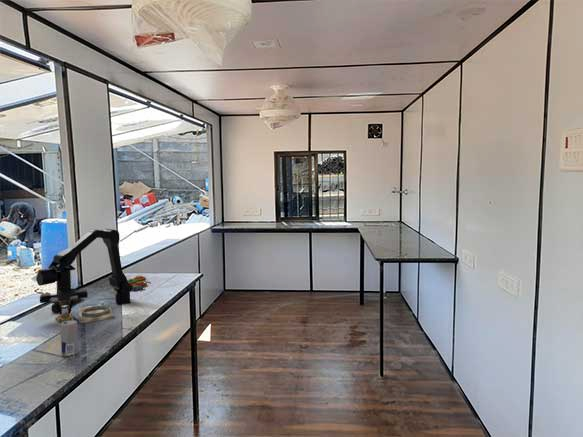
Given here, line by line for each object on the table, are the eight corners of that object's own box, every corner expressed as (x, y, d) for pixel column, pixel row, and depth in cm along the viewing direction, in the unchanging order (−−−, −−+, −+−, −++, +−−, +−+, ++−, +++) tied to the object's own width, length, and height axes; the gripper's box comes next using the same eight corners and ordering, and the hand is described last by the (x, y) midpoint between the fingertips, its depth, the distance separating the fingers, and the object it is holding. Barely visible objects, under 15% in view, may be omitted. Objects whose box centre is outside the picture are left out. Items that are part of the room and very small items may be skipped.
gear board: (109, 305, 198) (109, 299, 197) (113, 318, 181) (113, 311, 180) (78, 310, 191) (77, 303, 190) (79, 323, 174) (79, 315, 173)
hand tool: (60, 313, 186) (60, 302, 186) (50, 313, 186) (50, 302, 186) (86, 299, 209) (86, 289, 208) (78, 299, 209) (77, 289, 208)
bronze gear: (74, 315, 184) (74, 302, 183) (75, 320, 177) (74, 307, 177) (55, 317, 180) (55, 305, 179) (55, 323, 173) (54, 309, 173)
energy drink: (66, 350, 146) (64, 319, 144) (81, 350, 146) (79, 319, 145) (58, 357, 140) (57, 325, 139) (74, 356, 141) (73, 324, 140)
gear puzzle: (129, 279, 253) (129, 273, 253) (155, 279, 255) (155, 272, 254) (113, 293, 222) (113, 286, 222) (142, 292, 224) (142, 285, 224)
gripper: (38, 287, 165) (40, 323, 167) (87, 282, 175) (88, 316, 176) (39, 281, 175) (41, 315, 176) (86, 277, 184) (87, 309, 186)
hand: (65, 314), depth 178 cm, fingers closed on bronze gear, 3 cm apart
